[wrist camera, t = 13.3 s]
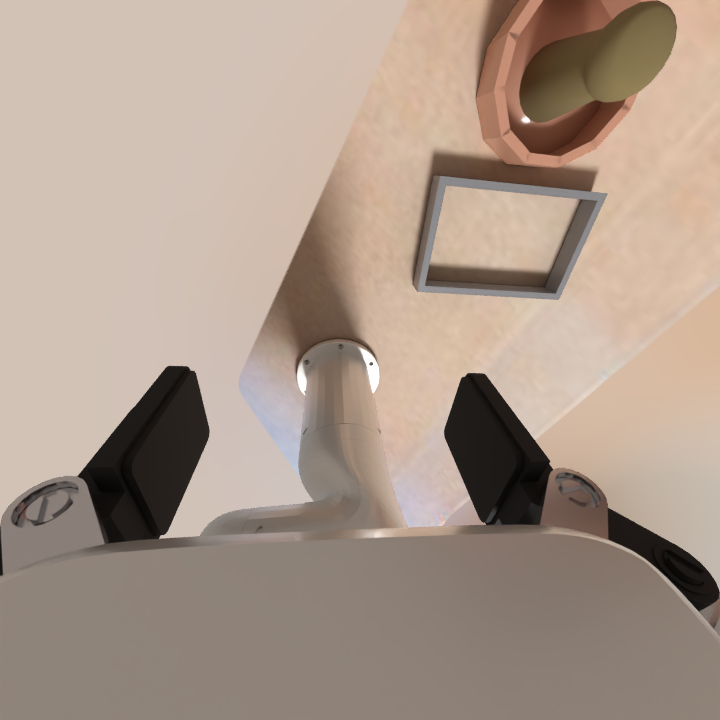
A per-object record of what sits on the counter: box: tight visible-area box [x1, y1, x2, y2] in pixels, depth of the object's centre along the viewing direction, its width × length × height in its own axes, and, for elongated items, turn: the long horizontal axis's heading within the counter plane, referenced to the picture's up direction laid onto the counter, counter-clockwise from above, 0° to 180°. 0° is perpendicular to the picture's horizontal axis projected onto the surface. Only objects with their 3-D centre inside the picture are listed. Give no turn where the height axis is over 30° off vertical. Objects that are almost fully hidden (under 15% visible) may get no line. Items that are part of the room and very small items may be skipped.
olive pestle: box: [519, 0, 677, 123], centre depth 25 cm, size 6×6×11 cm
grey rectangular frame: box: [413, 175, 607, 300], centre depth 37 cm, size 13×20×2 cm, turn 85°
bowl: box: [476, 0, 656, 167], centre depth 29 cm, size 14×14×4 cm
